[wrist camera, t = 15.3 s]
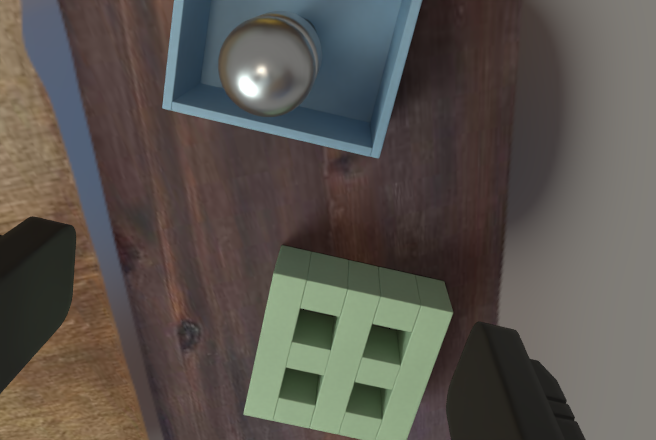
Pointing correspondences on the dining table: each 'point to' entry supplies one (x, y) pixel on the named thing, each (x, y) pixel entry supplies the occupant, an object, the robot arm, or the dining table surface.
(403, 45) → the tub
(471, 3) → the dining table surface
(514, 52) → the dining table surface
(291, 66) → the microphone
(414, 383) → the rack
